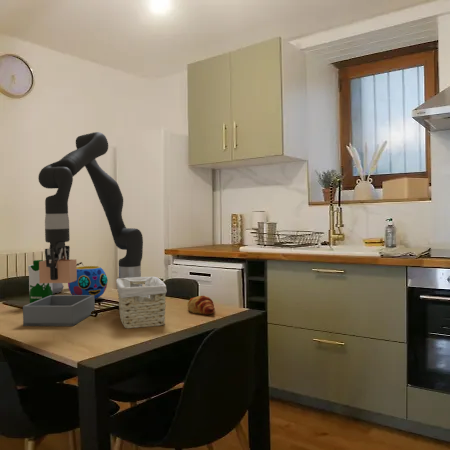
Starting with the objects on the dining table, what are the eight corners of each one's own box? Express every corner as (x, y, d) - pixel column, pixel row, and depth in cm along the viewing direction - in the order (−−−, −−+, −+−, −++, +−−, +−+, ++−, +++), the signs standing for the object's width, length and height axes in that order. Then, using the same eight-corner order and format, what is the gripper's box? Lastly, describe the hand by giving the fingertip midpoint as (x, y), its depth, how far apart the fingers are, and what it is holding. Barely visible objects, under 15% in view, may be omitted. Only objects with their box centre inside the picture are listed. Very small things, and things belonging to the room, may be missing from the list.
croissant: (184, 315, 189) (175, 299, 187) (203, 302, 193) (195, 286, 191) (206, 325, 170) (197, 307, 168) (227, 310, 174) (218, 292, 172)
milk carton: (26, 308, 191) (25, 261, 190) (37, 304, 200) (36, 259, 199) (46, 308, 190) (45, 261, 190) (56, 304, 199) (55, 258, 199)
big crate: (94, 312, 180) (94, 295, 180) (72, 326, 158) (72, 306, 158) (50, 312, 181) (50, 295, 181) (23, 326, 159) (22, 306, 159)
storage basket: (168, 326, 157) (167, 284, 156) (120, 330, 152) (119, 287, 152) (157, 312, 180) (157, 275, 179) (116, 315, 175) (115, 277, 174)
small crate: (76, 280, 152) (76, 259, 152) (69, 282, 146) (69, 261, 146) (47, 280, 152) (47, 259, 152) (39, 283, 146) (39, 261, 146)
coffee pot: (39, 295, 221) (38, 265, 221) (39, 292, 231) (38, 263, 231) (84, 292, 229) (84, 263, 229) (82, 289, 240) (82, 261, 239)
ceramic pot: (76, 304, 197) (76, 270, 196) (62, 299, 210) (61, 267, 210) (114, 299, 208) (113, 267, 207) (98, 294, 221) (97, 264, 221)
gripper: (59, 228, 141) (60, 281, 142) (76, 226, 156) (77, 275, 156) (35, 228, 142) (37, 281, 142) (55, 227, 156) (56, 275, 156)
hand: (58, 278), depth 149 cm, fingers closed on small crate, 6 cm apart
